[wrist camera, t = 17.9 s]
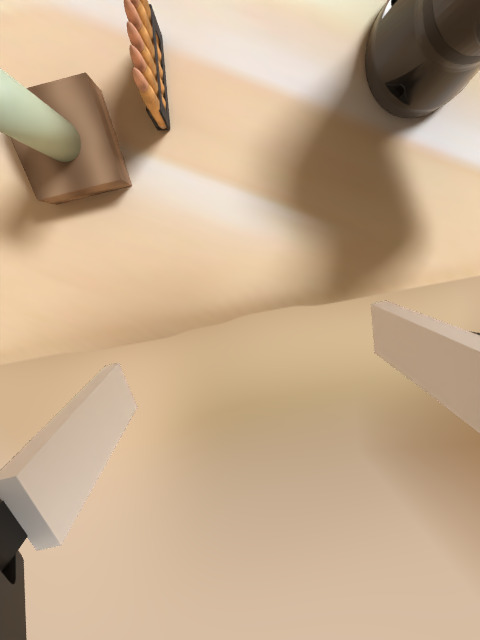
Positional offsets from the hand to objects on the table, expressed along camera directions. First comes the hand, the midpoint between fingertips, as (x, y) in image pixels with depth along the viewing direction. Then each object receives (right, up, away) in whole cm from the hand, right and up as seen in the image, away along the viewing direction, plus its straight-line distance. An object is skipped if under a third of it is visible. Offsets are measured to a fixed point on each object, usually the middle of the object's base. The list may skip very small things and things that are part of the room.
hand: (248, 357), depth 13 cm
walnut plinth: (-24, +27, +24) cm, 43 cm away
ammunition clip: (-12, +34, +22) cm, 43 cm away
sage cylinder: (-24, +25, +20) cm, 40 cm away
